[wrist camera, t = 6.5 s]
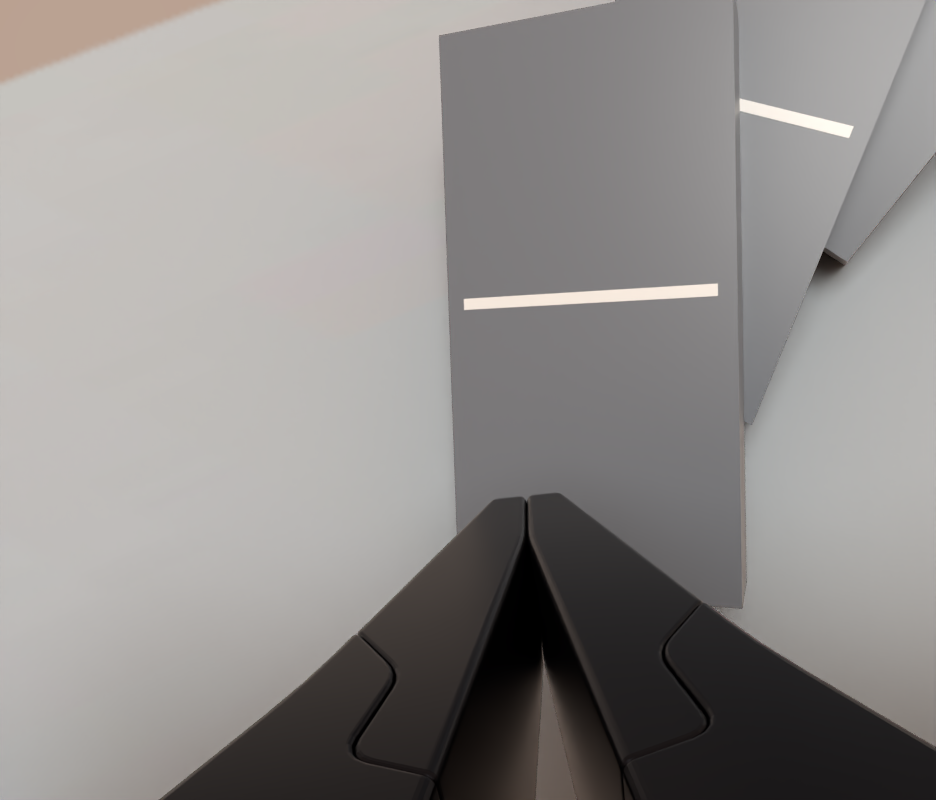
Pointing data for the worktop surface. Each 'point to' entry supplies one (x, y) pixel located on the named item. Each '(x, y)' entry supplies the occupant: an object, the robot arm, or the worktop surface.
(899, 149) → the domino
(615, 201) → the domino
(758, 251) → the domino
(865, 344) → the worktop surface
